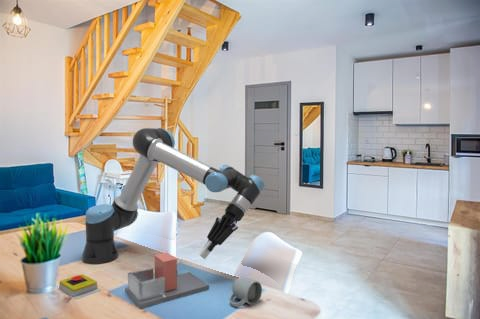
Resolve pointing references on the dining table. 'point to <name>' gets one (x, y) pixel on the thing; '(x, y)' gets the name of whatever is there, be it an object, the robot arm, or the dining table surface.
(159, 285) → the grey box holder bracket
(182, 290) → the stand board
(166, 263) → the pink box with dome
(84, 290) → the emergency button
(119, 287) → the dining table surface
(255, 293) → the ceramic mug
